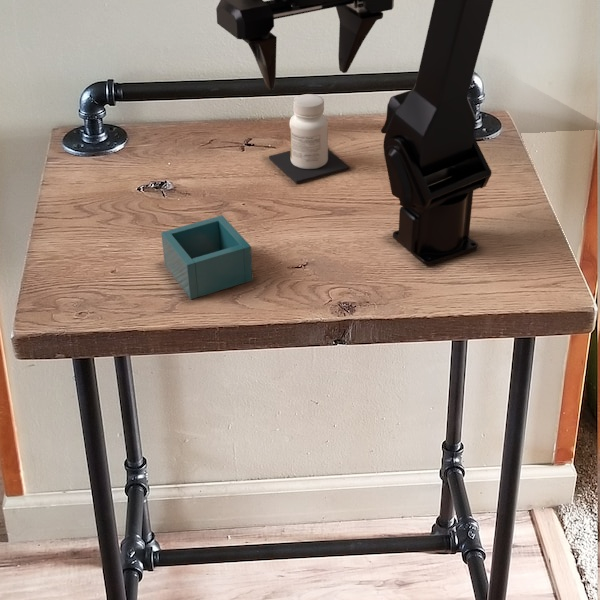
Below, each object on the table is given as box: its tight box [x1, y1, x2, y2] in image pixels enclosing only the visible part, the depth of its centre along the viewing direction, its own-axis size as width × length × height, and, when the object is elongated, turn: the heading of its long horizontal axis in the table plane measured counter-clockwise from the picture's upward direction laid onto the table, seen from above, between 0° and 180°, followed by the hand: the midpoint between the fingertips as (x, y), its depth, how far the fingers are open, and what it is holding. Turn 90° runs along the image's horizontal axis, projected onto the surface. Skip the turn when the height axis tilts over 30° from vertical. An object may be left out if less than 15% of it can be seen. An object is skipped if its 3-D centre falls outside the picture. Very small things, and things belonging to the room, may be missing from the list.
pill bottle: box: [289, 93, 329, 169], centre depth 113 cm, size 4×4×8 cm
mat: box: [268, 148, 351, 185], centre depth 115 cm, size 7×7×1 cm
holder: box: [160, 215, 254, 300], centre depth 96 cm, size 7×7×4 cm
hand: (307, 79), depth 109 cm, fingers open, 9 cm apart
